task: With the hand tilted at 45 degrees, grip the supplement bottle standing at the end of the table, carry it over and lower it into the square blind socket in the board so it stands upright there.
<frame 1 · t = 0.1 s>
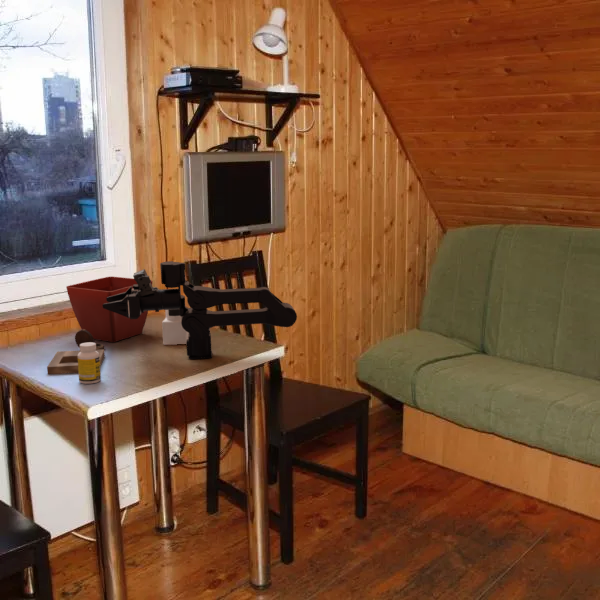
hand: (104, 302, 212), 17 cm above the table, tool horizontal, fingers open, 9 cm apart
plant pot: (113, 336, 242), on the table
socket board: (74, 366, 210), on the table
supplement bottle: (90, 381, 197), on the table
medicine bottle: (177, 342, 234), on the table
compass: (89, 351, 226), on the table
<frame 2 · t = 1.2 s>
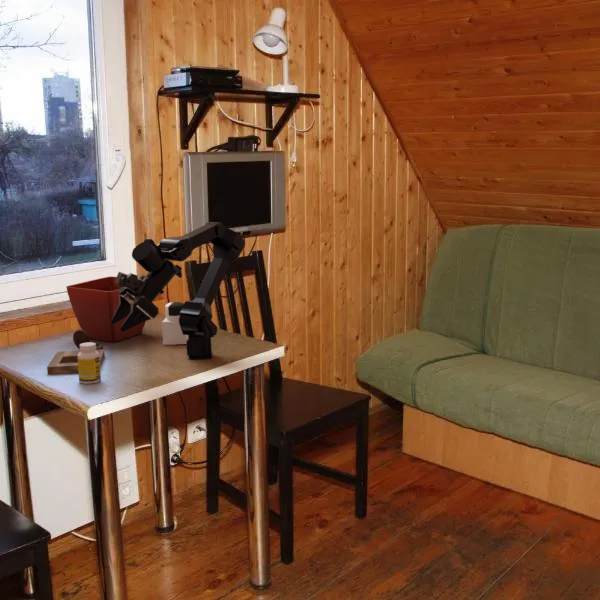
hand: (116, 326, 198), 13 cm above the table, tool tilted 45°, fingers open, 9 cm apart
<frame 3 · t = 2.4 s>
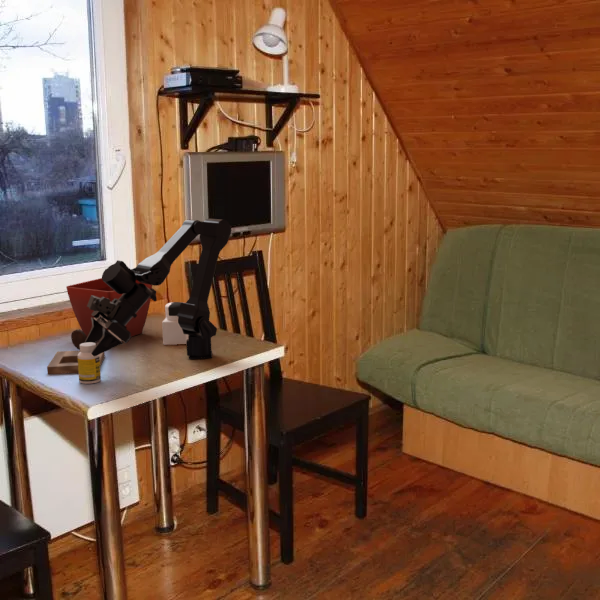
hand: (88, 350, 196), 8 cm above the table, tool tilted 45°, fingers open, 9 cm apart
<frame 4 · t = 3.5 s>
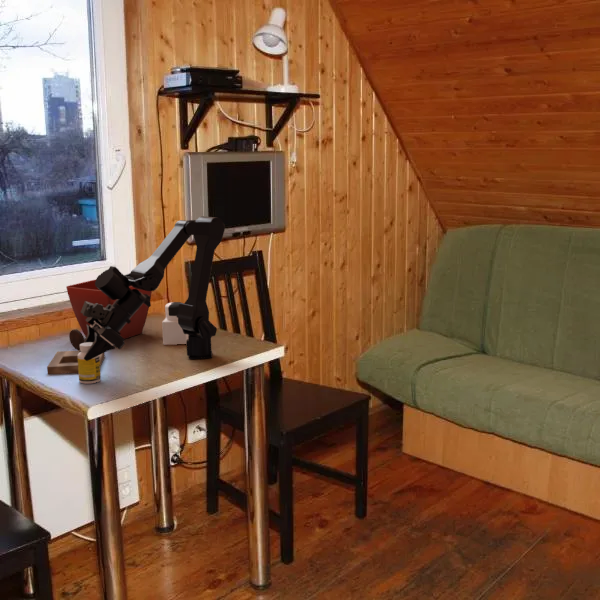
hand: (82, 357, 195), 7 cm above the table, tool tilted 45°, fingers closed on supplement bottle, 5 cm apart
supplement bottle: (90, 381, 197), on the table, touching gripper
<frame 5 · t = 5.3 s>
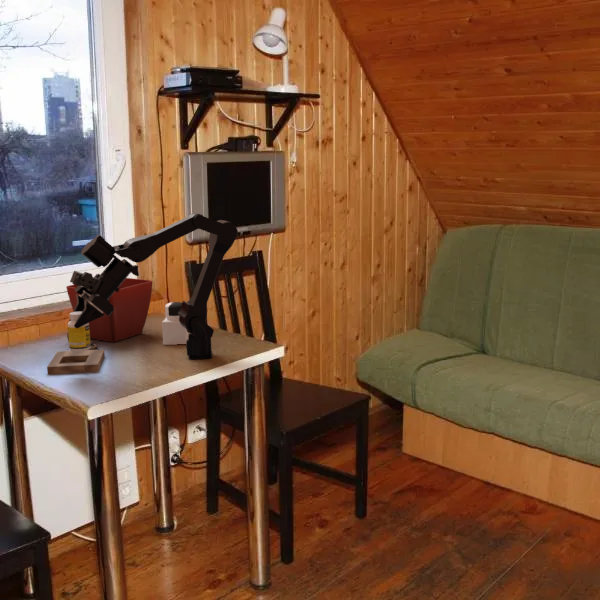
hand: (72, 325, 201), 13 cm above the table, tool tilted 45°, fingers closed on supplement bottle, 5 cm apart
supplement bottle: (80, 350, 203), point 6 cm above the table, touching gripper
when the fingers open (9 cm above the table, at t = 7.3 s): supplement bottle drops 2 cm, resting on socket board.
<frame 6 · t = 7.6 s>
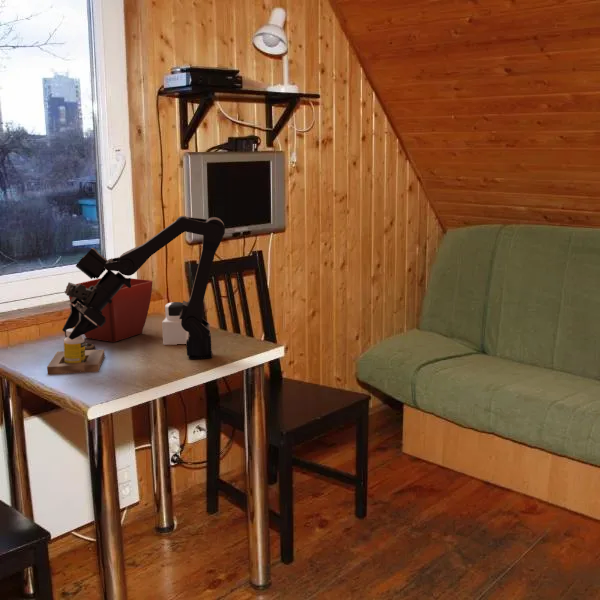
hand: (66, 334, 208), 9 cm above the table, tool tilted 45°, fingers open, 9 cm apart
supplement bottle: (75, 365, 210), resting on socket board
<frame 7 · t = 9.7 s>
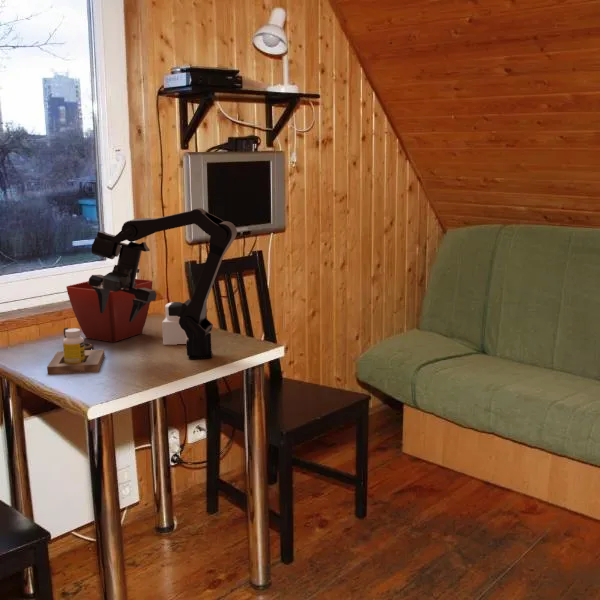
hand: (116, 317, 217), 11 cm above the table, tool tilted 15°, fingers open, 9 cm apart
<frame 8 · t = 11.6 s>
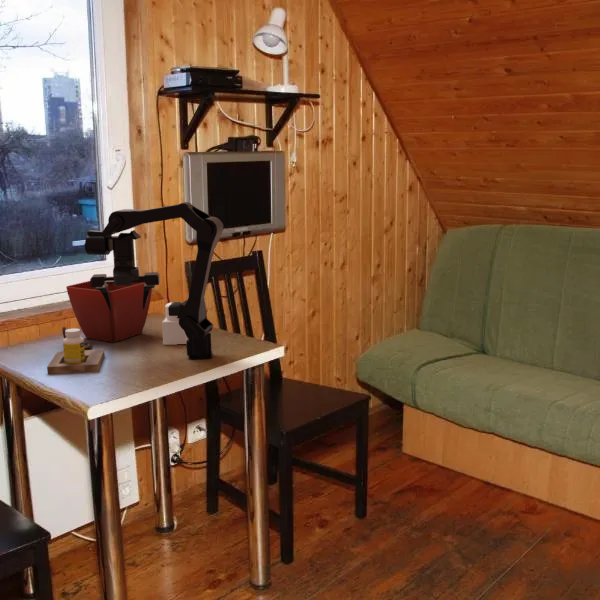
hand: (127, 309, 219), 13 cm above the table, tool pointing down, fingers open, 9 cm apart
at the end: supplement bottle 0.2 cm off-centre on the socket board, point 0.2 cm above the socket board's base; supplement bottle tilted 0°; the gripper is holding nothing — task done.
